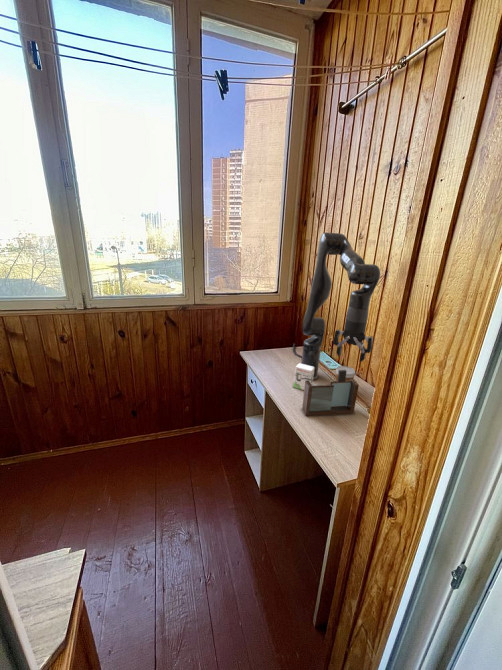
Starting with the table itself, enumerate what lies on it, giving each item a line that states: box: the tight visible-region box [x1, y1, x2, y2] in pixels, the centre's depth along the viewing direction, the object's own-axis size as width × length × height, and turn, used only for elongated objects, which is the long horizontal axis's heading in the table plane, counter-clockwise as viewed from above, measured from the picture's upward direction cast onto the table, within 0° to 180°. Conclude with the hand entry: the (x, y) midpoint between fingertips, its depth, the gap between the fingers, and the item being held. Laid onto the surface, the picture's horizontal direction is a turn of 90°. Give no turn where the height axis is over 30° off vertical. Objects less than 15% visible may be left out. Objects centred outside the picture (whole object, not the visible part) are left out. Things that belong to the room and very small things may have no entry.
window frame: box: [301, 378, 360, 417], centre depth 127 cm, size 5×22×14 cm, turn 98°
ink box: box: [293, 362, 315, 391], centre depth 147 cm, size 9×5×12 cm, turn 61°
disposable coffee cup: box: [335, 365, 356, 381], centre depth 145 cm, size 10×10×12 cm
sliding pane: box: [329, 370, 351, 407], centre depth 128 cm, size 1×9×18 cm, turn 97°
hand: (349, 358), depth 115 cm, fingers open, 8 cm apart
